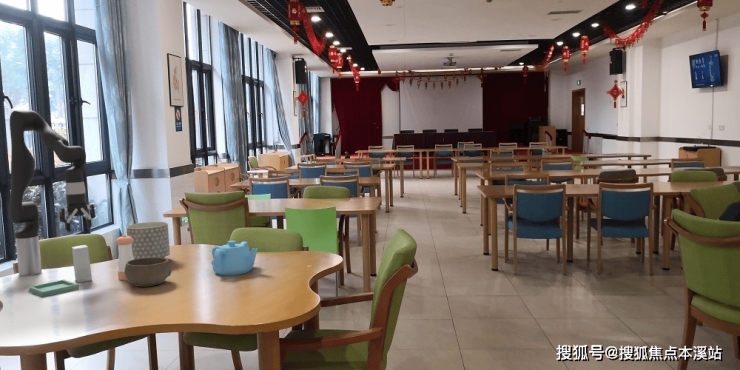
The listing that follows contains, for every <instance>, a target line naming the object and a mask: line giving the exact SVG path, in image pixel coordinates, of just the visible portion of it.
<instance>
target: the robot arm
mask: <svg viewBox="0 0 740 370" xmlns="http://www.w3.org/2000/svg"><path fill="white" fill-rule="evenodd" d="M32 131H34V132H36V133H39V135H41V140H42V142H43V144H44V145H45V146H46V147H47V148H49V149H50V150H52V151H53V152H54V154H55V155H56V156H57V159H58V160H59V161H61V162H62V163H65V164H71V163H72V164H71V165H72V166H71V167H69V168H67V169H66V170H65V171H64V178H65V179H64V181H65V196H66V198H65V199H66V207H59V210H58V213H59V222H60V223H64V227H65V228H64V229H65V230H66V232H68V233H69V232H71V231H72V229H71V220H72V219H73V218H74V217H79V216H80V217H82V216H83V217H84V218H85V219H86V221H85V222H86V229H91V227H92V226H93V225H92V224H93V223H92V220H93V219H95V218H96V211H95V204H91V203H89V204H87V198H86V196H87V195H86V194H87V193H86V185H85V182H84V181H85V180H84V178H85V177H84V169H85V164H86V158H87V154H86V150H85V148H84V147H82V146H81V145H70V143H69V141H68V140H67V139H66V138H65V137H63V136H62V135H60V133H58V132H57V131H56V130H54V129H53V128H52V127H51V126H50V125H49V123H48V122H46V121H45V119H44V118H43V117H42V116H41V115H40V114H39V113H38V112H36V111H35V110H32V109H29V110H28V109H25V110H24V109H23V110H22V109H19V110H17V109H16V110H13V111H12V112H11V114H10V115H9V132H10V142H11V143H10V145H11V147H10V148H11V151H10V153H11V155H10V158H11V159H10V160H11V161H10V192H9V194H10V195H9V201H8V202H9V204H8V218H9V220H10V222H11V223H12V224H15V225H16V224H23V223H24V225H23V227H22V228H19V229H18V230H16V231H15V233H14V236H15V245H16V257H17V268H18V269H17V270H18V275H19V276H21V277H24V276H25V277H27V276H29V277H30V276H34V275H39V274H41V273H43V272H42V259H41V251H40V250H41V249H40V239H39V237H40V236H39V230H40V223H39V221H40V220H39V215H40V214H39V208H38V206H37V204H36V202H34V201H23V199H24V194H25V191H26V190H27V189H28V187H29V185H30V184H31V182H32V180H33V179H34V176H35V169H36V168H35V166H36V164H35V162H36V161H35V158H34V156H33V154H32V153H31V151H30V150H29V148H28V146H27V144H26V143H25V132H32ZM87 210H88V211H89V212H87ZM67 212H68V213H67ZM66 213H67V214H66Z"/></svg>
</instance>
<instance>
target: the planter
mask: <svg viewBox="0 0 740 370" xmlns="http://www.w3.org/2000/svg"><path fill="white" fill-rule="evenodd" d="M125 228H126V229H125V230H126V236H130V237H132V238H133V243H131V244H132V254H133V258H134V259H139V258H147V257H161V258H166V257H167V256H169V255H171V253H170V252H171V251H170V236H169V235H170V233H169V223H168V222H165V221H149V222H147V221H146V222H139V223H131V224H129V225H127V226H126V227H125Z"/></svg>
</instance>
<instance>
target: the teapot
mask: <svg viewBox="0 0 740 370" xmlns="http://www.w3.org/2000/svg"><path fill="white" fill-rule="evenodd" d="M236 242H237V241H236V240H228V241H227V244H224V245H217V246H214V247H213V248H211V249H212V250H211V254H212V255H211V256H212V258H213V259H212V260H211V262H210V264H211V266H212V270H213V272H214V273H215V274H217V275H219V276H237V275H243V274H246V273H249V272H250V271H251V270H252V268H253V267H254V266H255V261H256V258H257V257H256V256H257V253H258V248H255V247H253V248H251V250H250V247H249V244H248V241H241V242H240V243H236Z"/></svg>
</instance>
